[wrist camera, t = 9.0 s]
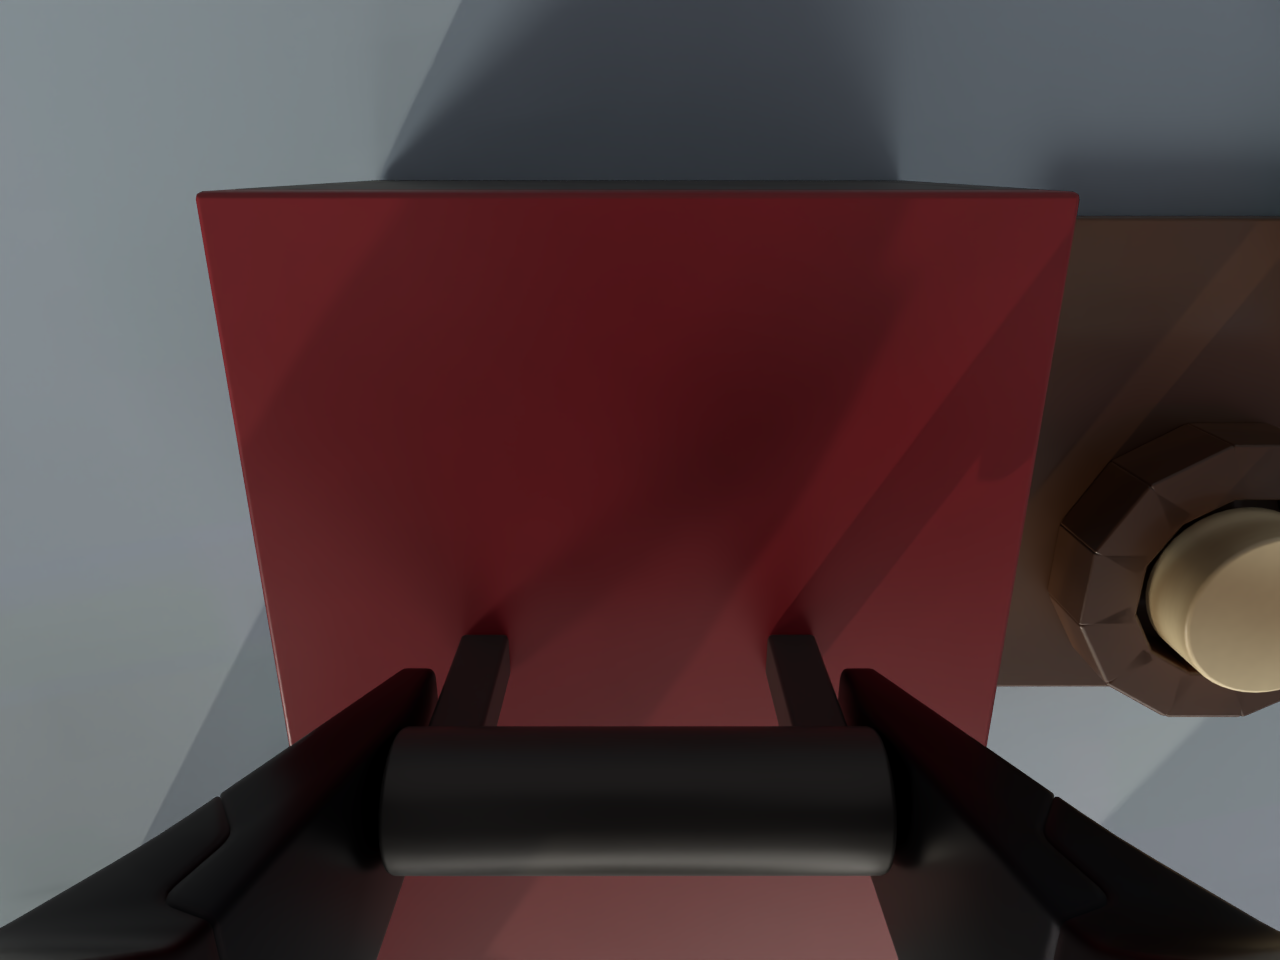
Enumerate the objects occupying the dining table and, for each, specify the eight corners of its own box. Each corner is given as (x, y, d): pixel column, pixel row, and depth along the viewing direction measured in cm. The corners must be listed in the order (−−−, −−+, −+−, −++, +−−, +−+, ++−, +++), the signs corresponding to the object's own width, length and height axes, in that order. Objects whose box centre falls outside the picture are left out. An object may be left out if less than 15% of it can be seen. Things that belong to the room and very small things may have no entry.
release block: (1268, 666, 22) (1344, 727, 19) (973, 667, 22) (1014, 727, 19) (1401, 215, 18) (1516, 223, 16) (1045, 215, 18) (1106, 223, 16)
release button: (1289, 654, 19) (1341, 694, 18) (1128, 654, 19) (1168, 694, 18) (1334, 505, 18) (1394, 535, 16) (1162, 505, 18) (1208, 535, 16)
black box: (850, 690, 22) (934, 900, 16) (426, 690, 22) (341, 900, 16) (901, 180, 18) (1045, 189, 11) (375, 180, 18) (229, 188, 11)
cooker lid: (930, 935, 16) (1048, 1247, 11) (346, 936, 16) (227, 1248, 11) (1048, 189, 11) (1323, 207, 7) (228, 189, 11) (-52, 206, 7)
